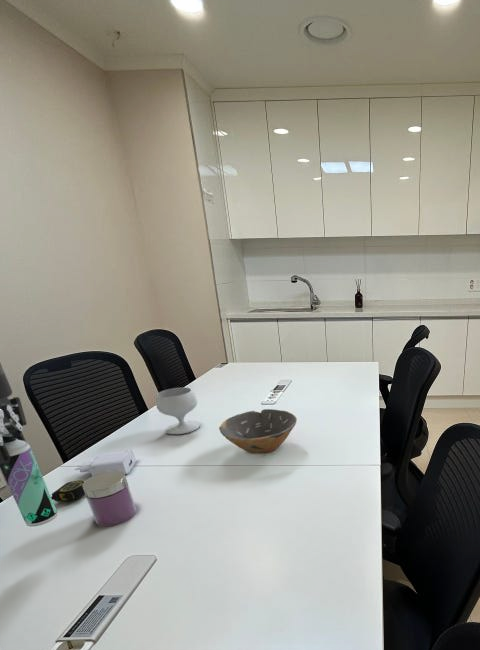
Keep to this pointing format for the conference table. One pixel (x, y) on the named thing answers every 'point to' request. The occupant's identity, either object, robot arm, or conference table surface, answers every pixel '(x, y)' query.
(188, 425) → the chalice
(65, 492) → the tape measure
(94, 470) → the charger
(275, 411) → the bowl
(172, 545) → the conference table surface
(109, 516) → the jar
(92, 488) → the jar lid
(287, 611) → the conference table surface
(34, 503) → the spray can
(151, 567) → the conference table surface
